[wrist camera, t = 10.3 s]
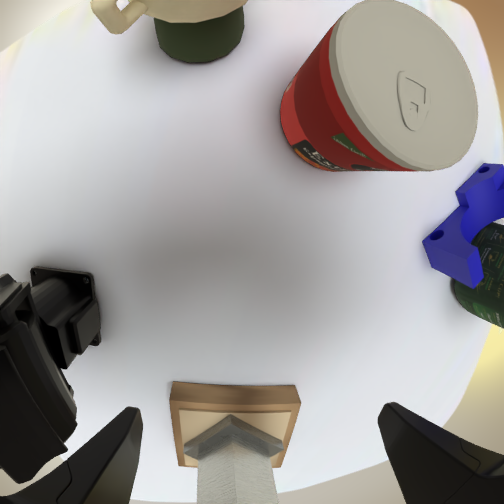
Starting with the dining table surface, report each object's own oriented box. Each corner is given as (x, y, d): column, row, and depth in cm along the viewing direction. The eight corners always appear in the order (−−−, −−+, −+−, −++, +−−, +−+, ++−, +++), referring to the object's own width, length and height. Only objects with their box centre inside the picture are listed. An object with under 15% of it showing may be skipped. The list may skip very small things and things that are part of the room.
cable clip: (482, 163, 20) (525, 166, 15) (494, 200, 22) (534, 208, 16) (415, 227, 21) (462, 243, 16) (430, 266, 22) (473, 288, 17)
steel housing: (184, 443, 21) (177, 542, 11) (230, 413, 21) (239, 529, 10) (234, 467, 23) (243, 554, 12) (282, 440, 22) (305, 537, 12)
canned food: (281, 173, 19) (346, 168, 9) (273, 68, 17) (318, -22, 6) (377, 172, 20) (486, 178, 9) (368, 76, 18) (459, 25, 7)
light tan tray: (180, 449, 25) (178, 468, 22) (173, 381, 23) (168, 402, 20) (277, 451, 26) (281, 469, 24) (295, 385, 24) (302, 405, 21)
